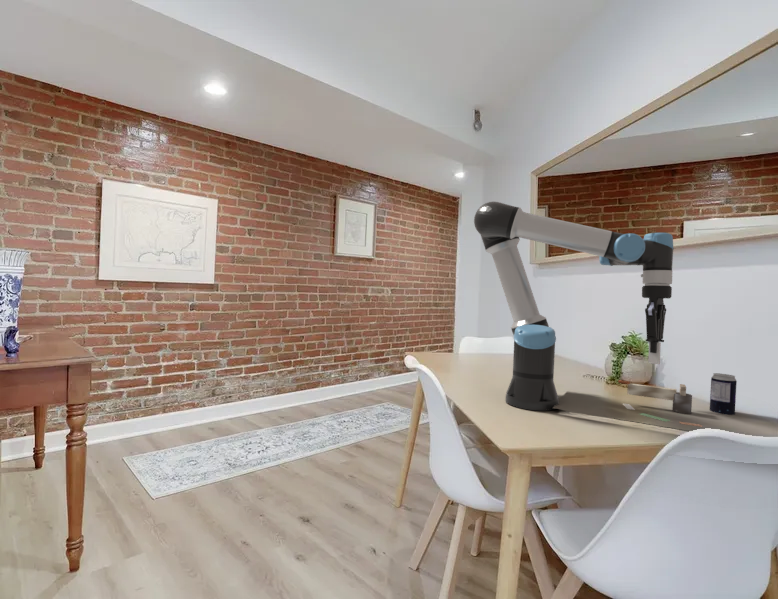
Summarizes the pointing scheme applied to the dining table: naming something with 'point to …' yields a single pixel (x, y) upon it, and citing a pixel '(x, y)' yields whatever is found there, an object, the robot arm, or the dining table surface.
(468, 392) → the dining table surface
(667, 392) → the peg lever
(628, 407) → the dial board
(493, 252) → the robot arm
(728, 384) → the beverage can
